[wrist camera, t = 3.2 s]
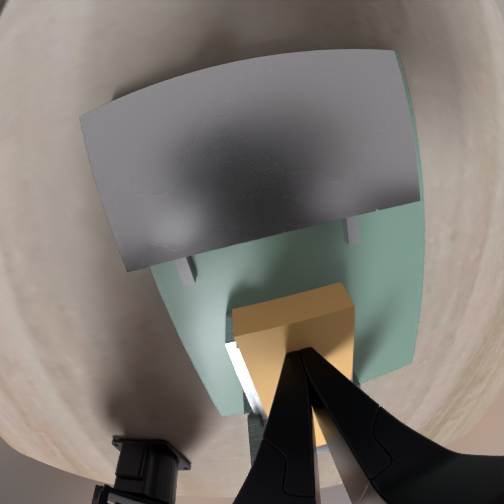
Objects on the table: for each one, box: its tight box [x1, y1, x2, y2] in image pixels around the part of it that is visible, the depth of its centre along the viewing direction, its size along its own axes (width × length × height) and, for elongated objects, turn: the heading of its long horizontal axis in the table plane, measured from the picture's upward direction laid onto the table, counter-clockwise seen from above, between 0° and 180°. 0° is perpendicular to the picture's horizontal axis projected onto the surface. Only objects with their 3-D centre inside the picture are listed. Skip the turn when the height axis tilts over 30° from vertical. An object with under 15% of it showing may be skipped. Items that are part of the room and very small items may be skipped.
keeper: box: [79, 49, 420, 272], centre depth 8 cm, size 4×7×7 cm, turn 103°
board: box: [149, 51, 425, 416], centre depth 14 cm, size 21×15×2 cm
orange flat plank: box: [232, 282, 355, 455], centre depth 11 cm, size 12×4×2 cm, turn 13°
